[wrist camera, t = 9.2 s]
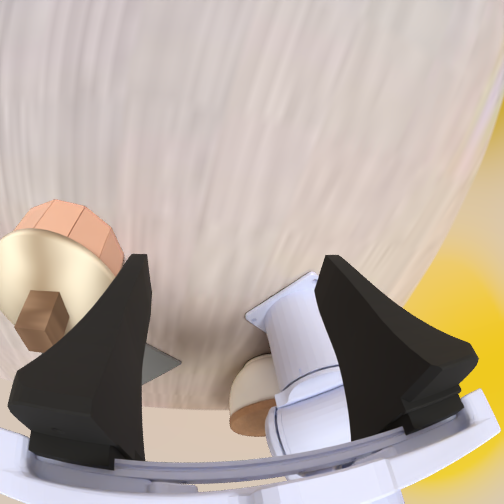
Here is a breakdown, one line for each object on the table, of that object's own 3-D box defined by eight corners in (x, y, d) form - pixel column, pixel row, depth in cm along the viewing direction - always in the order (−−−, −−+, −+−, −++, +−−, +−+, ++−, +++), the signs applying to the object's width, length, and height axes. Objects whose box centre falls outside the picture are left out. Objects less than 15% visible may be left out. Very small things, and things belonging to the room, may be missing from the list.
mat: (181, 361, 33) (181, 363, 33) (122, 393, 37) (122, 395, 37) (84, 306, 26) (84, 308, 26) (42, 352, 30) (41, 354, 30)
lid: (111, 226, 16) (92, 275, 13) (138, 348, 24) (134, 392, 20) (-30, 230, 14) (-59, 268, 11) (22, 338, 21) (10, 375, 18)
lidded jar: (323, 341, 34) (345, 412, 27) (294, 384, 40) (308, 443, 33) (231, 341, 32) (241, 422, 24) (219, 385, 38) (225, 450, 31)
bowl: (146, 254, 24) (138, 294, 20) (86, 311, 26) (76, 348, 23) (50, 176, 18) (23, 207, 14) (6, 253, 21) (-14, 287, 17)
